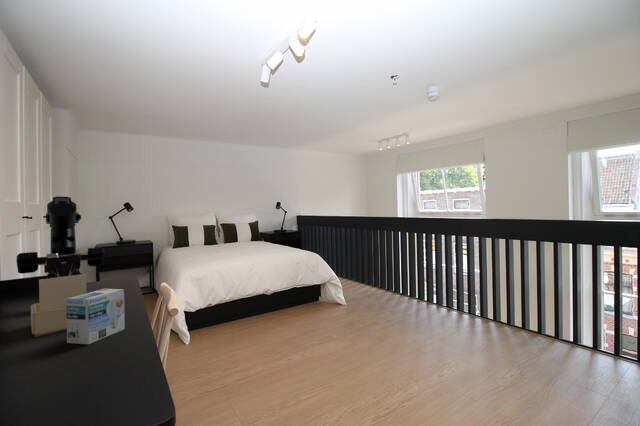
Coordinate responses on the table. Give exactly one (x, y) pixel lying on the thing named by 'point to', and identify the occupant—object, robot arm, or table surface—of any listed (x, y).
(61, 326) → the carton
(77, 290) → the far flap
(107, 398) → the table surface
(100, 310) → the light bulb box
